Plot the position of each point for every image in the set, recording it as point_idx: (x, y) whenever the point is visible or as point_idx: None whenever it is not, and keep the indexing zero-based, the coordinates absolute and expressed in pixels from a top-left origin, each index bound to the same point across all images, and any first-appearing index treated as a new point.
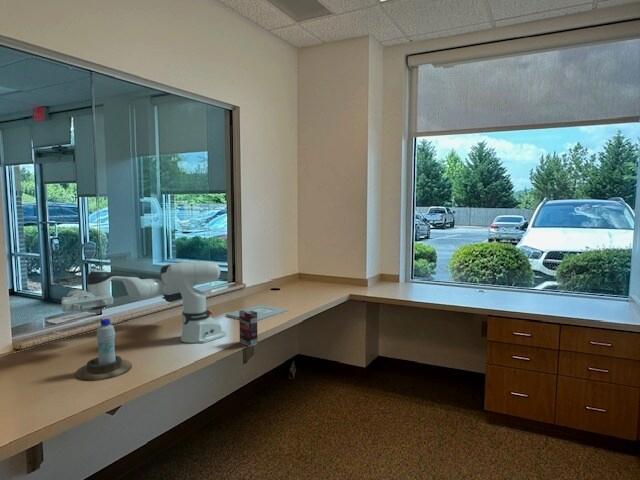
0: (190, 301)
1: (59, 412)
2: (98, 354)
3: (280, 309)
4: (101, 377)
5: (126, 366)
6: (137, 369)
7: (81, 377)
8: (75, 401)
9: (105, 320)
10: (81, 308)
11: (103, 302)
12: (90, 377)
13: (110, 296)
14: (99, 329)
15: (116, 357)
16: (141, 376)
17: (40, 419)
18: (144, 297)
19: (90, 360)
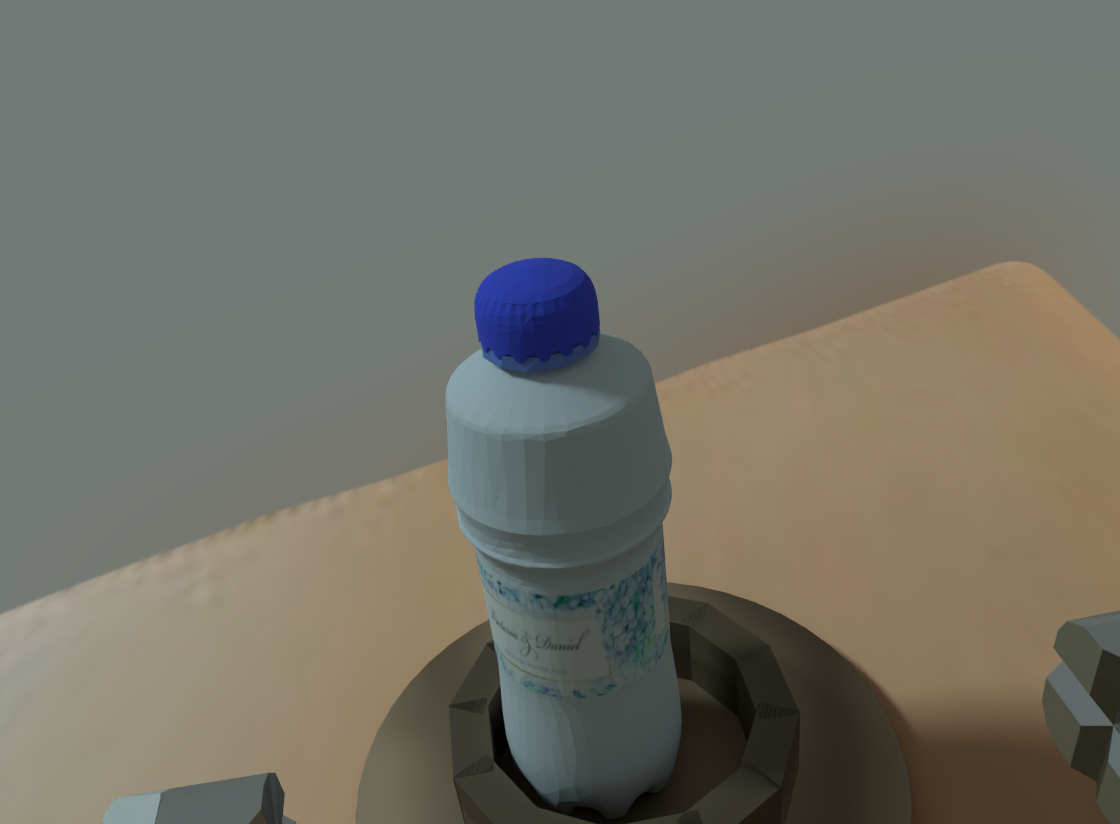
0: None
1: (878, 351)
2: (670, 646)
3: None
4: (668, 584)
5: (434, 707)
6: (366, 674)
7: (831, 649)
8: (818, 408)
9: (538, 259)
10: (1076, 687)
11: (237, 778)
12: (753, 610)
13: None
14: (629, 344)
15: (486, 745)
16: (400, 548)
17: (953, 330)
18: None
19: (765, 786)
